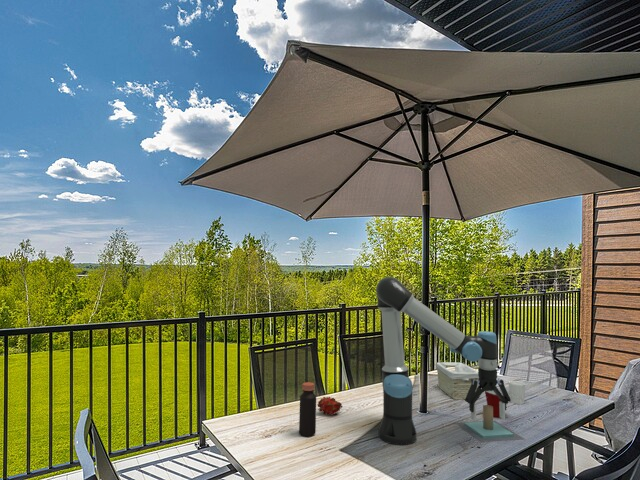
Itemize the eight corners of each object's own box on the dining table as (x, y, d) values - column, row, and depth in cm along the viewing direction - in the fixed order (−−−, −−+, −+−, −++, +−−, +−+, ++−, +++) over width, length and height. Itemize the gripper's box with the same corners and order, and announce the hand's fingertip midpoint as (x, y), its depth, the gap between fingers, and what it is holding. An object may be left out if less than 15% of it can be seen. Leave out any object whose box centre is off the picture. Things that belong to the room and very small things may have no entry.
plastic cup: (511, 421, 180) (511, 394, 181) (486, 419, 182) (486, 392, 183) (505, 413, 190) (505, 387, 191) (481, 411, 192) (481, 386, 193)
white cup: (526, 401, 208) (525, 382, 209) (524, 405, 202) (524, 386, 202) (509, 398, 212) (509, 380, 213) (507, 402, 206) (507, 383, 207)
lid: (483, 438, 159) (482, 413, 160) (464, 425, 173) (464, 401, 174) (513, 436, 162) (513, 411, 163) (492, 423, 176) (492, 400, 176)
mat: (480, 443, 156) (480, 442, 156) (454, 423, 176) (454, 422, 176) (525, 440, 160) (525, 439, 160) (494, 421, 179) (494, 420, 179)
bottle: (306, 429, 166) (307, 380, 168) (318, 433, 162) (319, 383, 163) (295, 434, 161) (296, 383, 162) (308, 438, 156) (309, 387, 158)
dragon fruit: (315, 416, 185) (340, 420, 185) (317, 410, 178) (343, 415, 178) (317, 398, 190) (341, 402, 190) (319, 392, 184) (344, 396, 184)
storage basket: (481, 400, 209) (481, 372, 210) (451, 400, 208) (451, 372, 209) (462, 387, 233) (461, 361, 234) (435, 387, 232) (435, 361, 233)
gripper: (465, 371, 164) (466, 423, 162) (519, 369, 168) (520, 420, 167) (456, 366, 171) (456, 417, 169) (507, 365, 176) (508, 414, 174)
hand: (488, 419), depth 168 cm, fingers open, 13 cm apart
